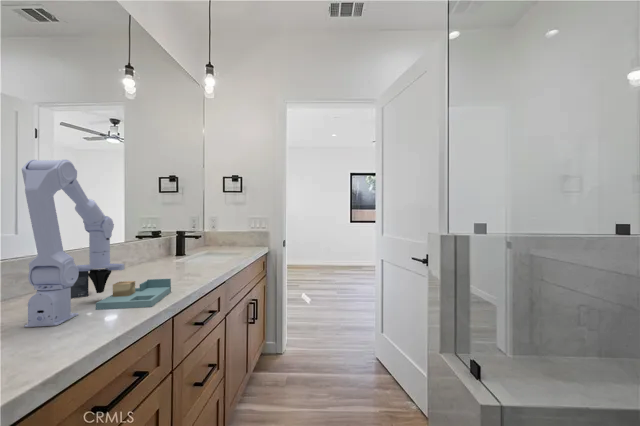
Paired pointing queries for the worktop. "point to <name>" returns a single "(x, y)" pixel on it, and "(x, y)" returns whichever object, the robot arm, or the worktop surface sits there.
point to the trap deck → (139, 296)
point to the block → (123, 288)
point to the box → (80, 285)
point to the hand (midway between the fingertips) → (100, 292)
